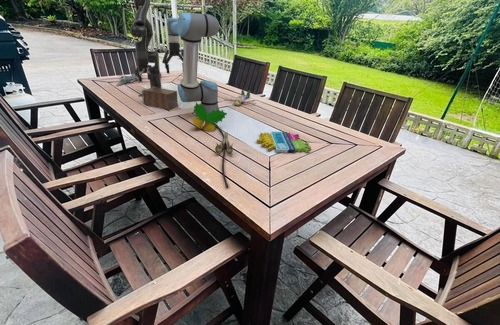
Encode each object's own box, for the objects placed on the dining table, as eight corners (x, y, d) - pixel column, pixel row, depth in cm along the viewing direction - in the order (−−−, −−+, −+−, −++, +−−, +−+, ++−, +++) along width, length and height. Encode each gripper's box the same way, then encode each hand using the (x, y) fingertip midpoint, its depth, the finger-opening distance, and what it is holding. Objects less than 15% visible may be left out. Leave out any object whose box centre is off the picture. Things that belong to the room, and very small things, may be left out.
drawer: (137, 102, 199) (135, 89, 195) (146, 99, 207) (144, 86, 203) (165, 107, 192) (163, 94, 187) (173, 104, 200) (172, 91, 195)
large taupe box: (145, 105, 197) (143, 89, 191) (155, 101, 206) (153, 86, 200) (169, 109, 191) (167, 94, 185) (178, 106, 200) (176, 91, 194)
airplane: (112, 78, 264) (110, 67, 259) (144, 76, 278) (143, 66, 272) (114, 87, 236) (112, 76, 231) (151, 85, 249) (149, 74, 244)
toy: (261, 91, 228) (254, 99, 202) (261, 99, 231) (253, 108, 205) (231, 87, 233) (220, 95, 207) (230, 95, 236) (219, 104, 210)
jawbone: (234, 135, 144) (233, 125, 135) (233, 160, 138) (232, 151, 129) (217, 135, 144) (216, 125, 135) (216, 160, 138) (214, 150, 129)
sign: (313, 150, 142) (258, 149, 139) (312, 153, 143) (258, 152, 140) (301, 132, 164) (254, 130, 161) (301, 134, 165) (254, 133, 162)
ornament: (218, 133, 171) (224, 110, 169) (221, 134, 163) (227, 111, 161) (186, 125, 162) (192, 101, 160) (189, 126, 155) (195, 101, 153)
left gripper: (145, 55, 193) (148, 78, 201) (130, 57, 182) (133, 81, 190) (153, 57, 190) (155, 79, 198) (138, 59, 179) (141, 83, 187)
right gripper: (186, 41, 199) (187, 70, 209) (155, 41, 183) (158, 73, 193) (191, 42, 194) (193, 72, 204) (160, 42, 179) (163, 74, 189)
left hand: (145, 80), depth 194 cm, fingers open, 8 cm apart
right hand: (176, 72), depth 199 cm, fingers open, 13 cm apart
